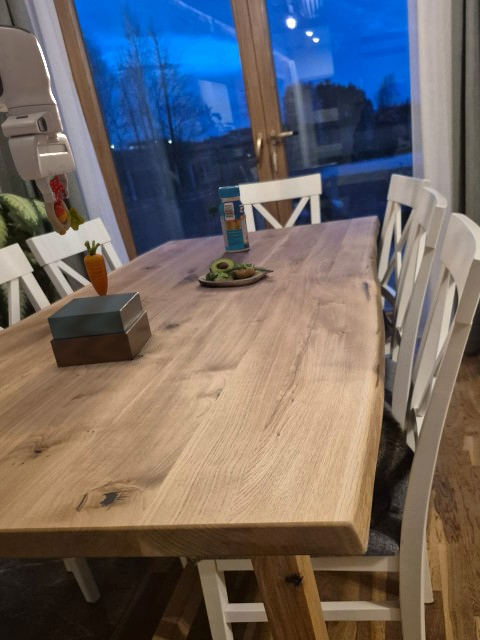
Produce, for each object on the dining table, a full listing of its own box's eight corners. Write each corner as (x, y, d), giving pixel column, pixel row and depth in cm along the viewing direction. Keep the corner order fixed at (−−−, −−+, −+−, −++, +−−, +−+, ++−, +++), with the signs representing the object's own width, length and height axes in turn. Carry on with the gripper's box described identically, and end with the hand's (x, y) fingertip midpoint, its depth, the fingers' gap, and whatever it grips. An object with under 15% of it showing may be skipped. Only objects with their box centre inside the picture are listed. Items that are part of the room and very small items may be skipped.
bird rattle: (81, 243, 118) (88, 219, 124) (59, 193, 109) (68, 170, 115) (51, 247, 118) (59, 223, 124) (27, 197, 110) (37, 173, 115)
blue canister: (220, 252, 193) (210, 188, 184) (240, 247, 198) (231, 185, 189) (235, 254, 187) (225, 188, 179) (255, 248, 192) (247, 184, 184)
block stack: (57, 367, 105) (43, 319, 101) (84, 341, 117) (72, 298, 114) (133, 359, 104) (121, 311, 100) (151, 334, 117) (141, 290, 113)
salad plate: (285, 270, 158) (283, 253, 156) (258, 287, 143) (256, 269, 141) (223, 271, 165) (220, 255, 163) (191, 288, 150) (187, 270, 148)
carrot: (105, 295, 153) (91, 237, 146) (117, 296, 150) (103, 237, 144) (90, 300, 149) (74, 241, 143) (101, 302, 146) (86, 242, 140)
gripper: (42, 126, 120) (61, 196, 125) (-4, 126, 101) (20, 208, 107) (72, 123, 119) (90, 193, 125) (31, 122, 101) (54, 204, 107)
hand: (58, 200), depth 116 cm, fingers closed on bird rattle, 6 cm apart
